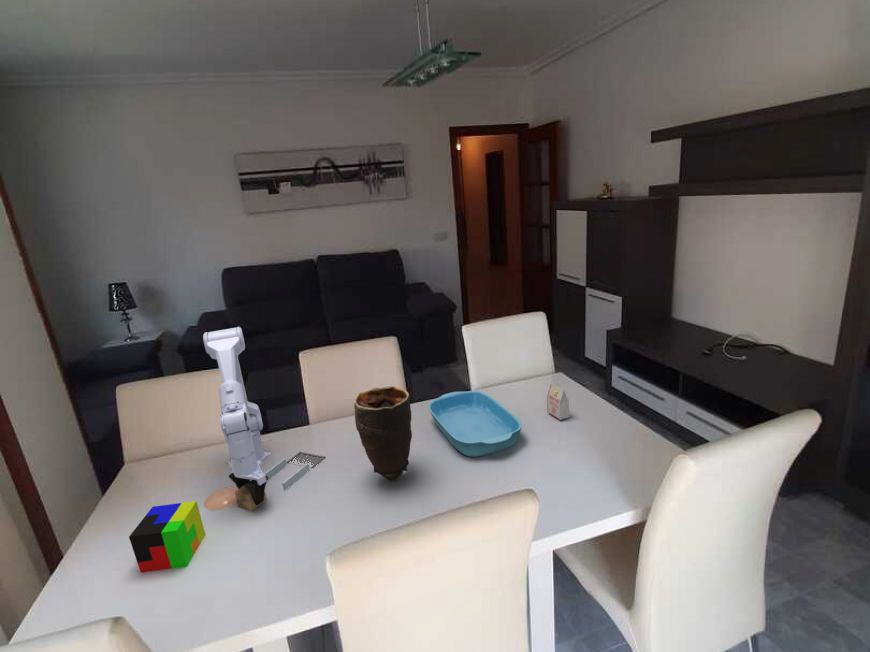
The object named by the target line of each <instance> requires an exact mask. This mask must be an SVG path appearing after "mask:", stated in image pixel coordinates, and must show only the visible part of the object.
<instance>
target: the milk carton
mask: <svg viewBox="0 0 870 652" xmlns="http://www.w3.org/2000/svg"><path fill="white" fill-rule="evenodd" d="M546 402H547V403H546V405H547V406H546V409H547V411H546V412H547V413H548V414H550V415H551V416H553V417H554V418H556V419H558V420H559V421H561V420H565V419H568V418H570V400H569V398H568V396H567V394H566V392H565V389H562V388H561V387H559V386H557V385H556V384H554V383H550V386H549V388H548V392H547V394H546Z"/></svg>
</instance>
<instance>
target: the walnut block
mask: <svg viewBox="0 0 870 652" xmlns="http://www.w3.org/2000/svg"><path fill="white" fill-rule="evenodd" d="M250 481H251V480H250ZM250 481H249V482H250ZM235 495H236V500H237V502H236V504H237V508H238V509H239V508H240V509H242V510H246V511H247V512H250V513H252V512H254V510H257V508H258V507H260V506H261V505H262V504H263V503H265V502H266V501H267V495H266V491H265V492H264V501H263V502H262V503H260V504H259V505H256V504H255V503H254V501H253V498H252V496H251V494H250V492H249V490H248V489H247V488H246V487H245V486H242V487H241V488H239V489H238V490H236V491H235Z"/></svg>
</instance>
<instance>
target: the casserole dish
mask: <svg viewBox="0 0 870 652" xmlns="http://www.w3.org/2000/svg"><path fill="white" fill-rule="evenodd" d="M428 409H429V411H430V414H431V417H432V419H433V421H434V423H435V424H436V426H437V427H438V429H440V431H441V433H442V434H443V435H444V436H445V437H446V439H447V440H448V441H449V442H450V444H451V445H453V447H454V448H455V449H456V450H457V451H458V452H459V453H461V454H463V455H465V456H467V457H469V458H470V457H471V458H476V457H482V456H486V455H490V454H493V453H498V452H499V451H503V450H506V449H508V448H510V447H513V446H514V445H515V444H516V442H517V440H518V437H519V435H520V433H521V430H522V427H523V426H522V425H523V424H522V422H521V421H520V420H519V417H517V416H516V415H515V414H513V413H512V412H511V411H510V410H508V408H506V407H505V406H503V404H501V403H500V402H498V401H497V400H496V399H495V398H493V397H492V396H491V395H489V394H487V393H485V392H482V391H477V390H470V391H469V390H468V391H453V392H449V393H444V394H442V395H440V396H439V397H437V398H435V399H433V400H431V401H430V402H429V403H428Z"/></svg>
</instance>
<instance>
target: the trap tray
mask: <svg viewBox="0 0 870 652" xmlns="http://www.w3.org/2000/svg"><path fill="white" fill-rule="evenodd" d="M301 454H303V455H301ZM307 455H308V456H307ZM306 456H307V457H306ZM295 457H296V458H295ZM317 457H318V458H317ZM294 458H295V459H296V460H297V462H298V460H299V462H300V463H303V462H304V464H305V462H306V461H307V463H309V462H311V465H313V464H314V465H313V466H312V467H311V468H310V469H312V468H313V469H314V468H315V467H317V466H318V465H319V464H320V463H322V462H323V461H324V460H325V459H326V456H323V455H319V454H315V453H314V454H313V453H308V452H302V451H299V452H297V453H296V454H295V455H294V456H292V457H290V459H288V460H286V464H290V463H289V462H290V461H291V462H292V461H293V459H294ZM297 458H298V459H297ZM299 458H300V459H299ZM303 459H304V460H305V461H304V460H303ZM307 459H308V460H307ZM310 460H311V461H310ZM322 460H323V461H322ZM294 461H295V460H294ZM302 461H303V462H302ZM308 461H309V462H308ZM293 463H294V462H293ZM312 463H313V464H312ZM298 464H299V463H298ZM317 464H318V465H317ZM316 465H317V466H316Z"/></svg>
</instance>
